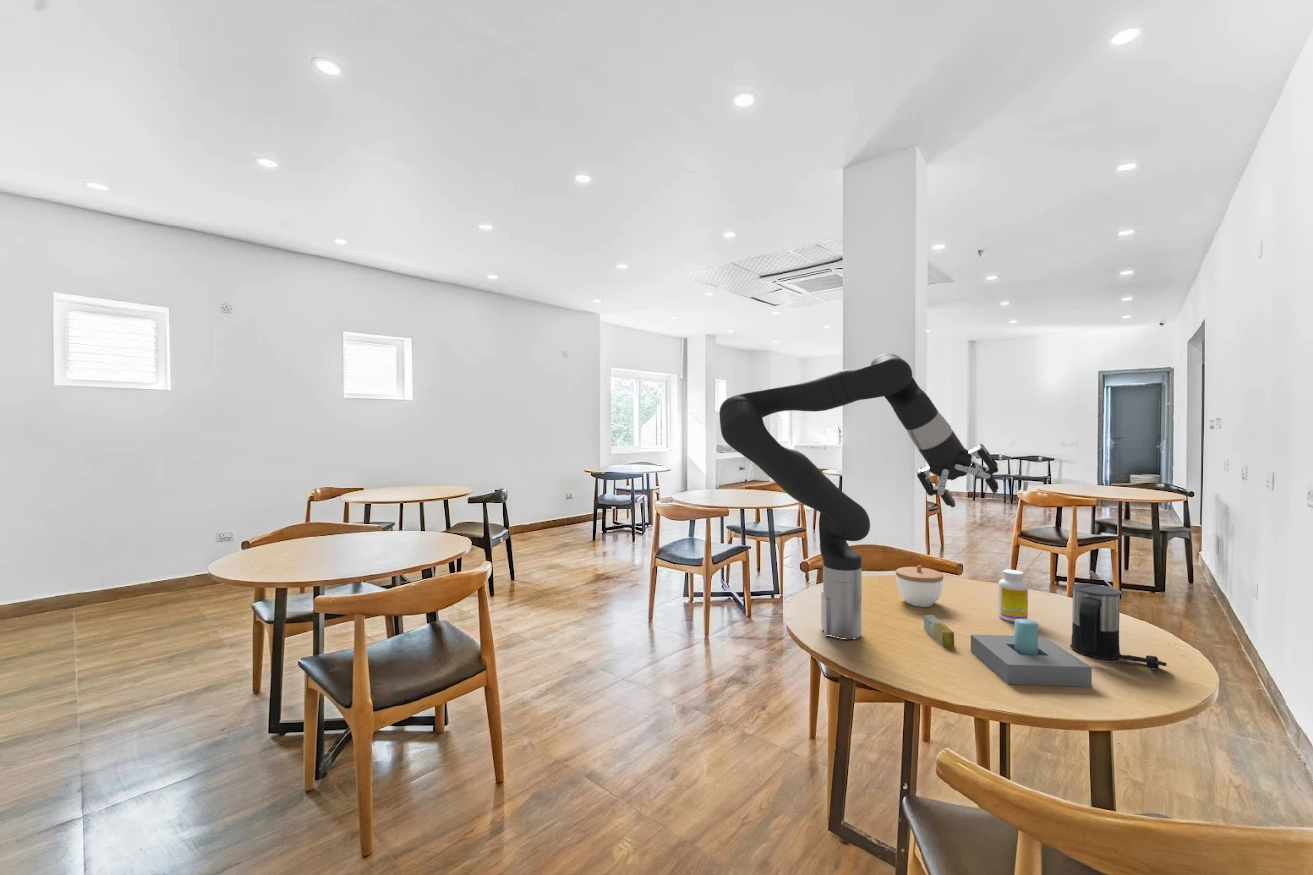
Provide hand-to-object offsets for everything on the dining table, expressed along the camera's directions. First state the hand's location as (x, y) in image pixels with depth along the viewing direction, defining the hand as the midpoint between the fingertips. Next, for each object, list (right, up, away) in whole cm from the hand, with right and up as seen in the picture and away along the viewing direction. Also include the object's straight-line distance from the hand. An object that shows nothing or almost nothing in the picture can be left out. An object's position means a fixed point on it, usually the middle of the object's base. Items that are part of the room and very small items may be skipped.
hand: (974, 498), depth 116 cm
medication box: (+3, -37, +21) cm, 43 cm away
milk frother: (+36, -37, +8) cm, 53 cm away
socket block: (+13, -37, +4) cm, 40 cm away
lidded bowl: (+11, -36, +47) cm, 60 cm away
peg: (+13, -37, +4) cm, 40 cm away
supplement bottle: (+29, -36, +33) cm, 57 cm away
